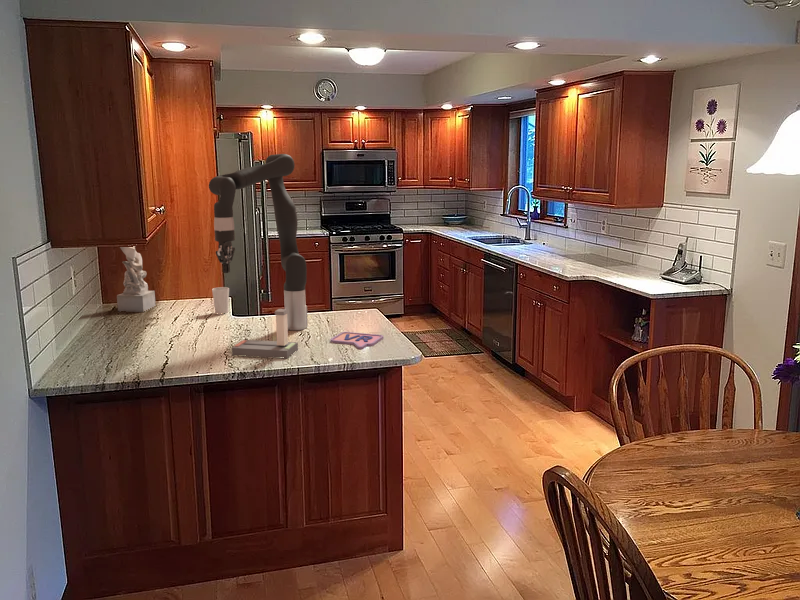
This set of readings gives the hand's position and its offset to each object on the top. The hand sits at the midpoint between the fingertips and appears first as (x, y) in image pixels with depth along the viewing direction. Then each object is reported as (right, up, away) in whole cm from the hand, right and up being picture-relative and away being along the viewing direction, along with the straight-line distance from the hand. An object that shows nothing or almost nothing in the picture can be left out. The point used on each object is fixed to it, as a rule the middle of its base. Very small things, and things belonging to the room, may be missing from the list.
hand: (226, 272), depth 264 cm
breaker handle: (+24, -28, -9) cm, 37 cm away
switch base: (+17, -31, -7) cm, 36 cm away
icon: (+50, -28, +10) cm, 58 cm away
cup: (-18, -17, +61) cm, 66 cm away
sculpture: (-63, -15, +69) cm, 95 cm away
